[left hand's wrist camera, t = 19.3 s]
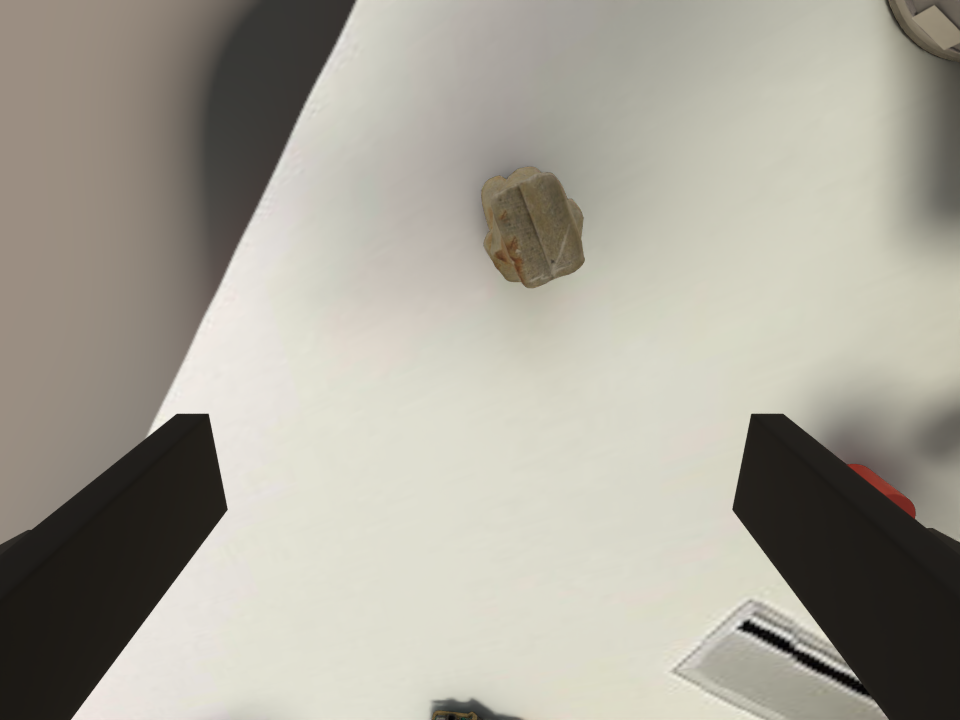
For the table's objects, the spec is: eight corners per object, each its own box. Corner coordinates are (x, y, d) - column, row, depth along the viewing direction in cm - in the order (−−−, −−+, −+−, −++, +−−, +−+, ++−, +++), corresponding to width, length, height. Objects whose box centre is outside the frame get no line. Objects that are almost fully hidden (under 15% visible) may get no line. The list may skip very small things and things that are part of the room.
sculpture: (547, 158, 37) (589, 149, 23) (572, 256, 39) (624, 303, 25) (469, 184, 37) (462, 191, 23) (498, 279, 40) (507, 338, 26)
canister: (850, 518, 47) (887, 553, 43) (806, 498, 47) (839, 532, 42) (886, 476, 46) (929, 508, 42) (842, 455, 45) (880, 485, 41)
